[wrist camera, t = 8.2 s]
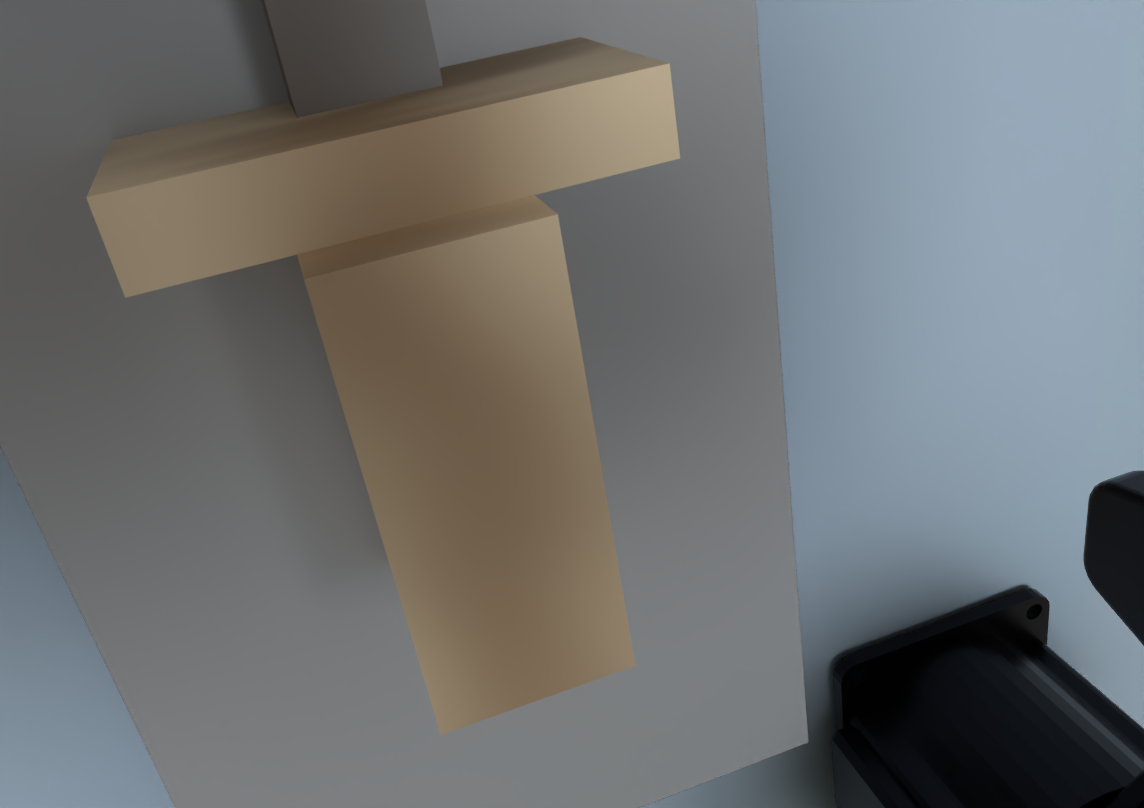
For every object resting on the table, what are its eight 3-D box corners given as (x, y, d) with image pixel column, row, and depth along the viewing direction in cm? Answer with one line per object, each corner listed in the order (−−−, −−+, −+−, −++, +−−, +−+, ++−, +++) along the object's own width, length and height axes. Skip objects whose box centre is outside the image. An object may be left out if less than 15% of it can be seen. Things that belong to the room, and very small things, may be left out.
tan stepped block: (635, -302, 14) (799, -388, 10) (719, 461, 20) (844, 591, 16) (-151, -184, 12) (-319, -237, 8) (194, 629, 18) (192, 824, 14)
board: (656, -237, 17) (736, -265, 15) (749, 662, 27) (808, 742, 24) (-184, -100, 15) (-266, -104, 12) (244, 847, 24) (248, 959, 21)
